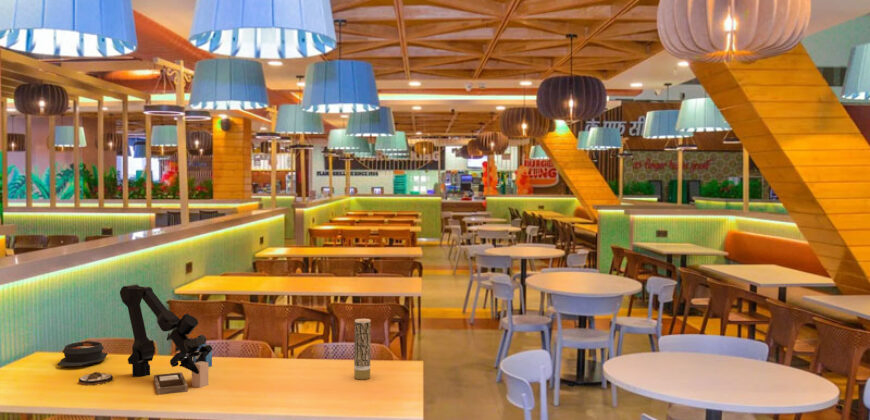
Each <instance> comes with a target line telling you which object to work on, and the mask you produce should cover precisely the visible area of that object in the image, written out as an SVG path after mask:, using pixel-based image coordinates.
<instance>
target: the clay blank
mask: <svg viewBox="0 0 870 420" xmlns="http://www.w3.org/2000/svg"><path fill="white" fill-rule="evenodd" d="M194 364H195V365H196V367H197V369H198V371H199V373H198V374H196V373H194V372H192V371H191V387H194V388H199V389H201V388H204V387H208V386H209V367H208V362H202V361H199V362H196V363H194Z"/></svg>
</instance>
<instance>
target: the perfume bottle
mask: <svg viewBox="0 0 870 420" xmlns="http://www.w3.org/2000/svg"><path fill="white" fill-rule="evenodd" d="M205 345H208V344H207V341H206V342H205V344H202V345H200V346H199V348H198V349H197V351H198V350H199V349H200V348H201V347H202V346H205ZM192 359H193V362H194V363H196V362H195V361H196V360H197V359H196V357H192ZM206 362H208V368H211V367H213V352H212V351H211V352H210V353H209V354H208V355H207V356H206Z"/></svg>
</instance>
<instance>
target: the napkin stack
mask: <svg viewBox="0 0 870 420" xmlns="http://www.w3.org/2000/svg"><path fill="white" fill-rule="evenodd" d="M173 379H179V378H178V375H172V376H161V377H159V381H163V380H173Z"/></svg>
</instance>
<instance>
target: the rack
mask: <svg viewBox="0 0 870 420" xmlns="http://www.w3.org/2000/svg"><path fill="white" fill-rule="evenodd" d="M172 375H178V378H179V379H173V380H163V381H159V377H161V376H172ZM153 383H154V386H155V390H156V393H157V396H159V395H167V394H168V395H169V394H178V393H179V394H180V393H187V392H188V391H189V388H188V387H189V386H188V384H187V381H186V378H185V376H184V374H183V371H181V372H172V373H159V374H153Z"/></svg>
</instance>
